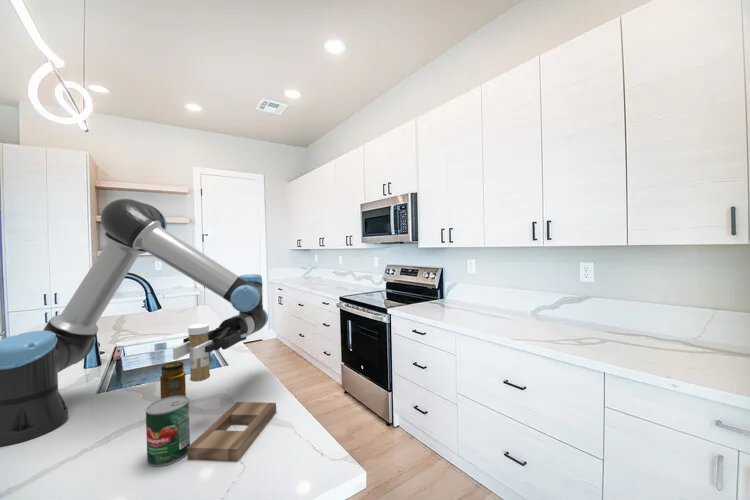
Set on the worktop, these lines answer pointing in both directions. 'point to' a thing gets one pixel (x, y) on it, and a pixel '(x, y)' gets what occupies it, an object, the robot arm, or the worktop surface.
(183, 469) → the worktop surface
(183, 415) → the canned tomato
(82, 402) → the worktop surface
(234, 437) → the hole board
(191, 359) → the sprinkles bottle
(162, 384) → the condiment
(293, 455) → the worktop surface
